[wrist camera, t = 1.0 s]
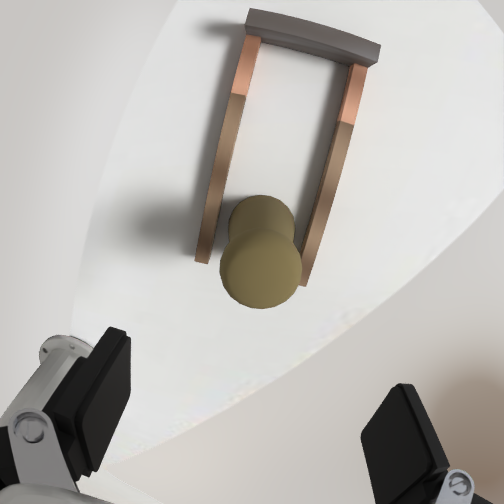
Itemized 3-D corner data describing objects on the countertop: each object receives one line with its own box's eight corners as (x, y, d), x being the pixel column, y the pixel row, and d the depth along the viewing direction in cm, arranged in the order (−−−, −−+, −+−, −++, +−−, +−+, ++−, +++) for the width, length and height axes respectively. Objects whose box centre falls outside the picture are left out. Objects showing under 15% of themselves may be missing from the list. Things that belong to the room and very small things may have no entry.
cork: (215, 237, 30) (191, 293, 19) (250, 181, 28) (243, 210, 17) (271, 270, 30) (274, 339, 20) (308, 218, 29) (332, 266, 18)
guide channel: (304, 279, 31) (309, 299, 27) (197, 255, 30) (188, 272, 26) (366, 55, 23) (380, 45, 19) (251, 24, 23) (249, 7, 19)
